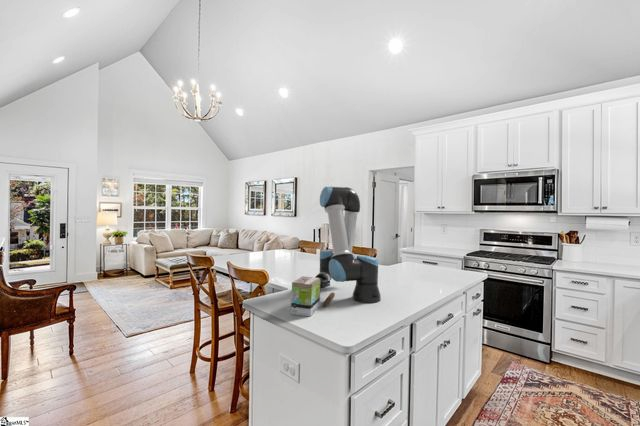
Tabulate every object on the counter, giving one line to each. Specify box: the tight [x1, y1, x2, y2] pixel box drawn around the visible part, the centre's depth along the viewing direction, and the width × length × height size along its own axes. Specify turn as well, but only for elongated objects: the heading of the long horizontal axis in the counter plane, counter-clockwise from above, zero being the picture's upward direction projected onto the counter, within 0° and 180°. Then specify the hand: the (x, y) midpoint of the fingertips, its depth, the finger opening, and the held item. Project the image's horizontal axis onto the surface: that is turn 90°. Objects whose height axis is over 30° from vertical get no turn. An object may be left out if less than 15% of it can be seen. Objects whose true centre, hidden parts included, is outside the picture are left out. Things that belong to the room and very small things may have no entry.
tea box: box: [290, 276, 321, 317], centre depth 146 cm, size 15×10×15 cm, turn 165°
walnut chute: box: [322, 292, 336, 309], centre depth 162 cm, size 17×20×2 cm
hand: (311, 289), depth 154 cm, fingers closed
